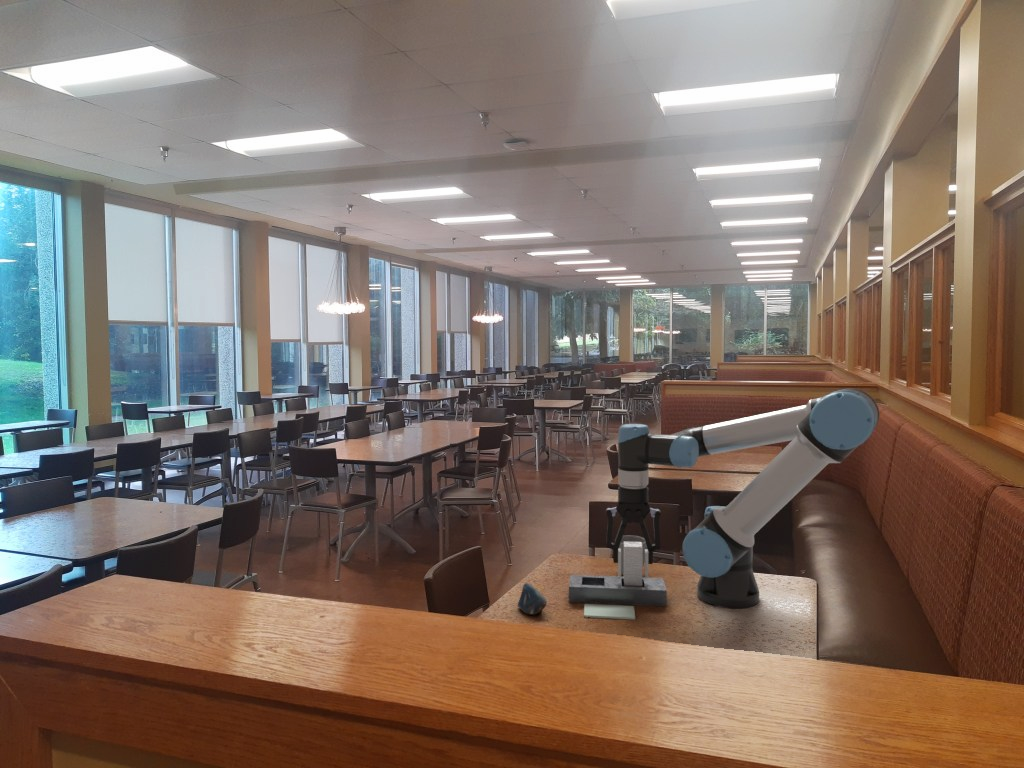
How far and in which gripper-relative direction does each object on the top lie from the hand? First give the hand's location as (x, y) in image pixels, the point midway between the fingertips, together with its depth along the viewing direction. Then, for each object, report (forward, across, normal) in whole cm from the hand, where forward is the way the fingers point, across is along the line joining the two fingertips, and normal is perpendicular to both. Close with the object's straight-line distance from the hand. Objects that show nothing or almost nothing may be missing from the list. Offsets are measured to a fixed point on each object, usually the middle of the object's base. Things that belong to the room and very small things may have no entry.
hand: (632, 575), depth 174 cm
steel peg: (+6, 0, 0) cm, 6 cm away
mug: (+6, 0, -18) cm, 19 cm away
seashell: (+6, +24, +10) cm, 27 cm away
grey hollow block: (+6, +4, 0) cm, 7 cm away
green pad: (+6, +6, +10) cm, 13 cm away
